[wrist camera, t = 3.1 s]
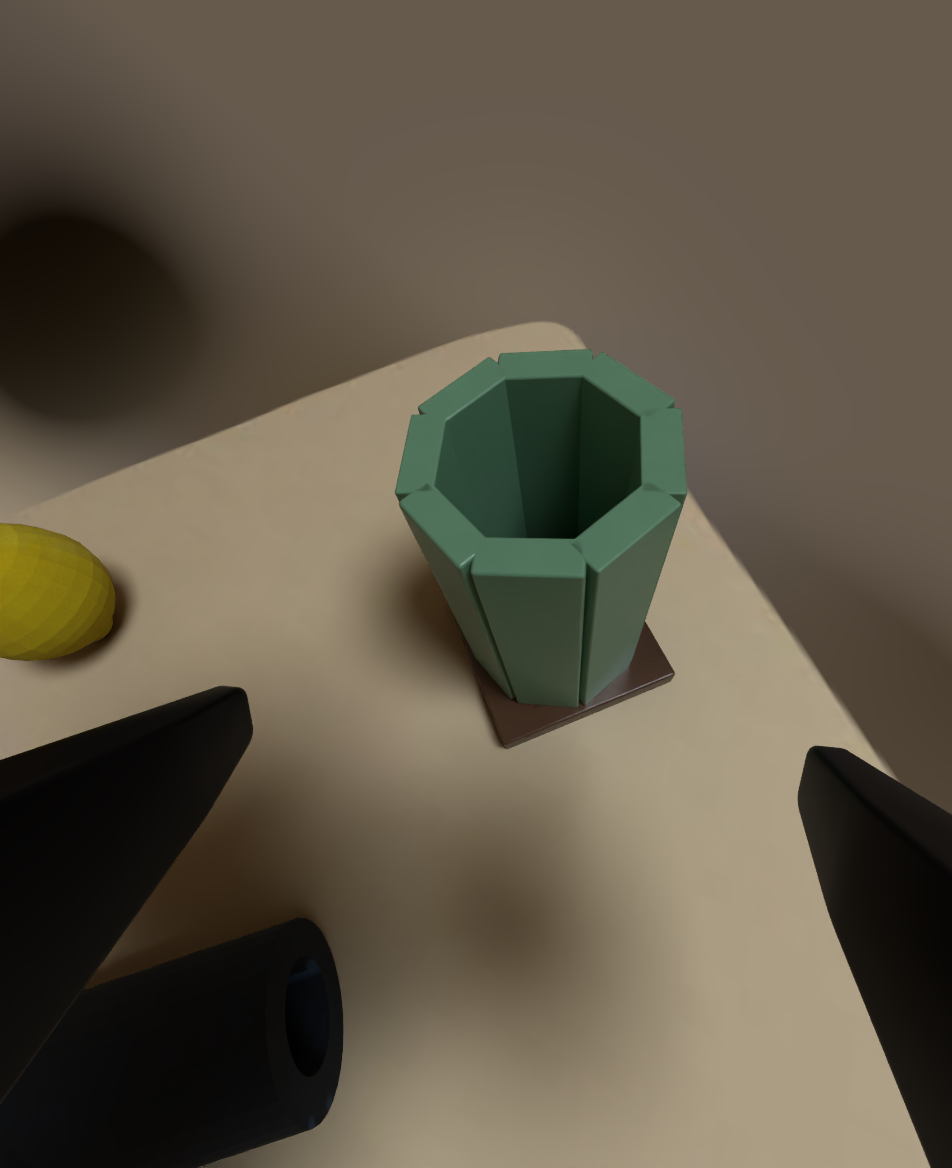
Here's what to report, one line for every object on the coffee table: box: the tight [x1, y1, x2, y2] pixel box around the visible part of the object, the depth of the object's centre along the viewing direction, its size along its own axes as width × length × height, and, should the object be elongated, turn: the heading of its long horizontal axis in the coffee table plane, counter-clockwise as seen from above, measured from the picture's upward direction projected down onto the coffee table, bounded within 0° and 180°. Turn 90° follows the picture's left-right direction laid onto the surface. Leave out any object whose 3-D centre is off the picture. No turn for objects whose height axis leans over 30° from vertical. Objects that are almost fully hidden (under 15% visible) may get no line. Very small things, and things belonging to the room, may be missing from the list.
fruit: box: [0, 523, 115, 661], centre depth 23 cm, size 6×6×8 cm
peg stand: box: [452, 612, 675, 749], centre depth 20 cm, size 7×7×6 cm
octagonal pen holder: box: [395, 349, 687, 708], centre depth 17 cm, size 6×6×11 cm
